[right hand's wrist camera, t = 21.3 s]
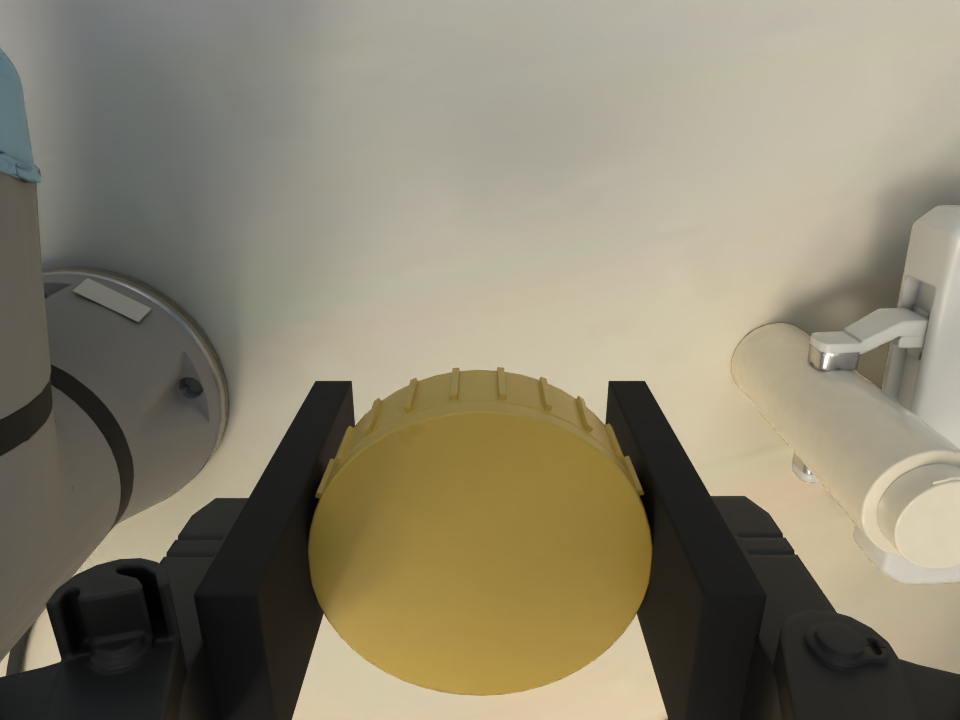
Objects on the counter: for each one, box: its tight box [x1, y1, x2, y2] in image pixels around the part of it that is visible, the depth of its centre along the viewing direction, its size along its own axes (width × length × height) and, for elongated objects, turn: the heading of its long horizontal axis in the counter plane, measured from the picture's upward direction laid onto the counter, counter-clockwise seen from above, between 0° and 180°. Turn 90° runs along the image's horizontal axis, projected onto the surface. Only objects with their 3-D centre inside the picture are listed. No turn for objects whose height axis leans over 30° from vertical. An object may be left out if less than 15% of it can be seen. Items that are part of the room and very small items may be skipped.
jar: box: [731, 323, 960, 569], centre depth 34 cm, size 5×5×17 cm
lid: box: [308, 367, 653, 696], centre depth 11 cm, size 6×6×2 cm
